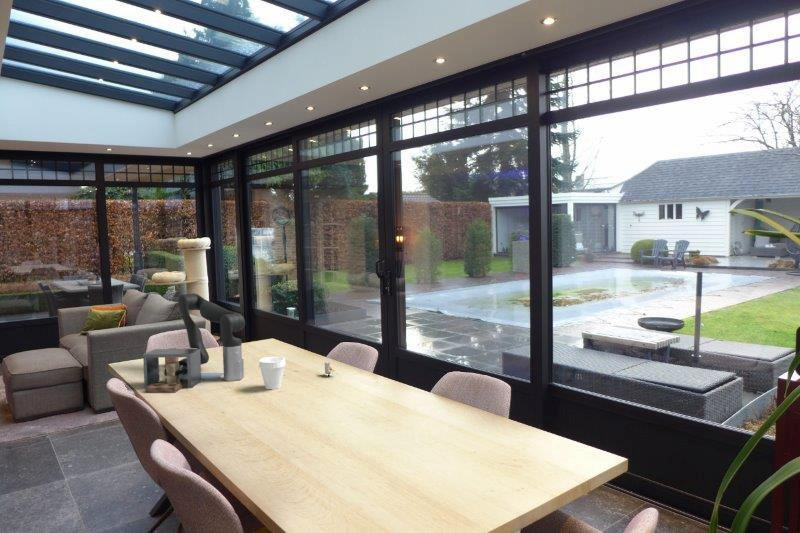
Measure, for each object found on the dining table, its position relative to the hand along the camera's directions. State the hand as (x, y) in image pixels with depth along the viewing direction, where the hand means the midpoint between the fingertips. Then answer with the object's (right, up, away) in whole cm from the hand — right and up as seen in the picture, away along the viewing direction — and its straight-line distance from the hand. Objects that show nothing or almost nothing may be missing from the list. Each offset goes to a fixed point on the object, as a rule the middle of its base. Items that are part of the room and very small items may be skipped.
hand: (170, 374), depth 273 cm
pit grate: (0, -6, -7) cm, 9 cm away
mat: (+6, -5, +18) cm, 19 cm away
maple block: (0, -6, +3) cm, 7 cm away
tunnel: (0, -6, +3) cm, 7 cm away
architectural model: (+75, -5, +16) cm, 77 cm away
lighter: (-17, -4, +43) cm, 46 cm away
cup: (+51, -6, -5) cm, 51 cm away
